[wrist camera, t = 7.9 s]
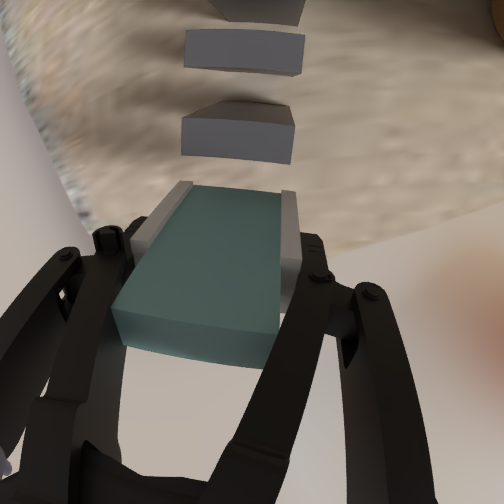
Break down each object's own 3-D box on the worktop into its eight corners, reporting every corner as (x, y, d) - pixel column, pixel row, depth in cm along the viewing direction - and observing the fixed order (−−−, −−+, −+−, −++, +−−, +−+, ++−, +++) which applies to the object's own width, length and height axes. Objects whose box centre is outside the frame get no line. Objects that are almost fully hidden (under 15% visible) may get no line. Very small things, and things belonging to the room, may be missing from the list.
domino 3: (223, 100, 20) (181, 117, 12) (289, 106, 20) (295, 126, 12) (222, 122, 21) (181, 155, 13) (286, 128, 21) (290, 164, 13)
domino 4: (193, 184, 16) (110, 307, 8) (281, 193, 16) (279, 334, 8) (193, 212, 17) (123, 344, 9) (277, 222, 17) (270, 370, 9)
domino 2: (227, 49, 18) (186, 30, 10) (294, 54, 18) (305, 35, 9) (225, 71, 19) (183, 67, 11) (292, 76, 19) (301, 73, 10)
